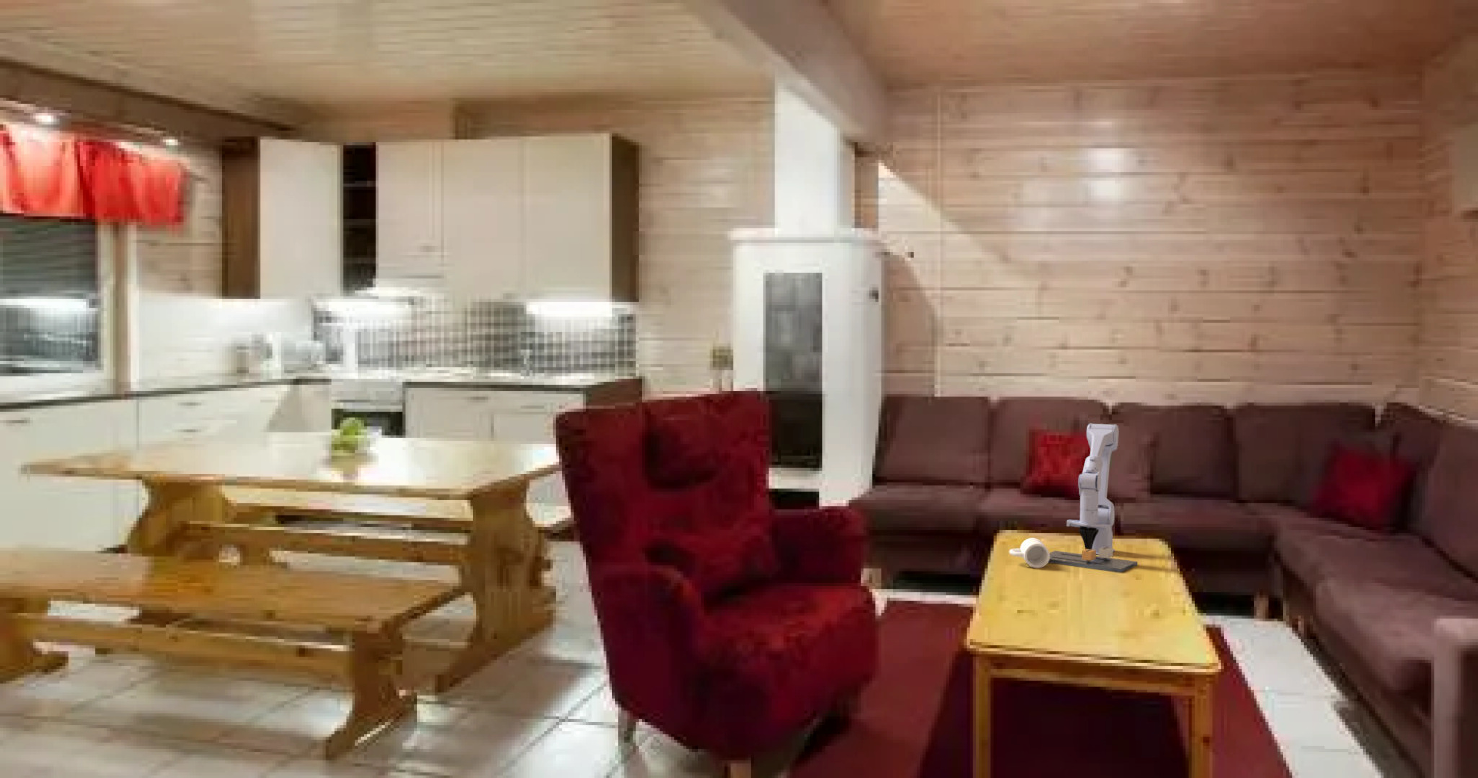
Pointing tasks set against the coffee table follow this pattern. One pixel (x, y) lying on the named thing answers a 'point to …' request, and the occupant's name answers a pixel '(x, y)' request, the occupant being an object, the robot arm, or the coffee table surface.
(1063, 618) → the coffee table surface
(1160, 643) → the coffee table surface
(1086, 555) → the orange fader
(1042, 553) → the mug
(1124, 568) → the mixer board
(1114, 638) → the coffee table surface
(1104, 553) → the cream fader
